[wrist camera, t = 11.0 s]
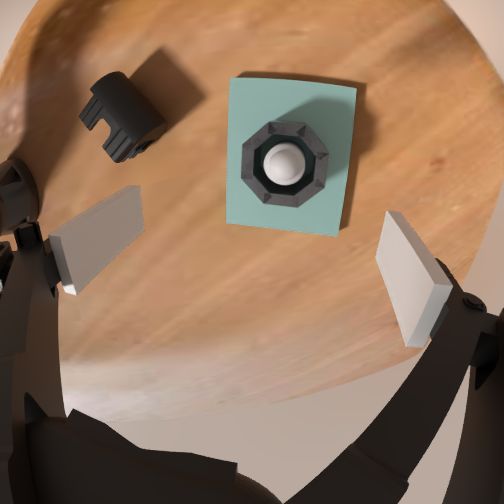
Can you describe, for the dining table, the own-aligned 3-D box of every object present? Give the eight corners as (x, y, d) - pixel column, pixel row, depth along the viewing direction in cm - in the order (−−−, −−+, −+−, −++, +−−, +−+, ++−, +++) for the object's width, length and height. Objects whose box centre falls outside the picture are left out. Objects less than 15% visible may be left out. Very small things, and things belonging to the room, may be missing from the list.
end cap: (177, 121, 33) (151, 125, 27) (143, 156, 36) (115, 168, 30) (134, 71, 31) (103, 69, 25) (103, 108, 34) (72, 113, 28)
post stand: (229, 218, 38) (210, 246, 31) (233, 78, 30) (211, 71, 23) (336, 231, 36) (342, 263, 29) (354, 89, 28) (368, 83, 21)
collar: (249, 188, 34) (239, 201, 30) (252, 118, 30) (243, 119, 26) (320, 196, 33) (322, 211, 29) (328, 125, 29) (331, 128, 25)
